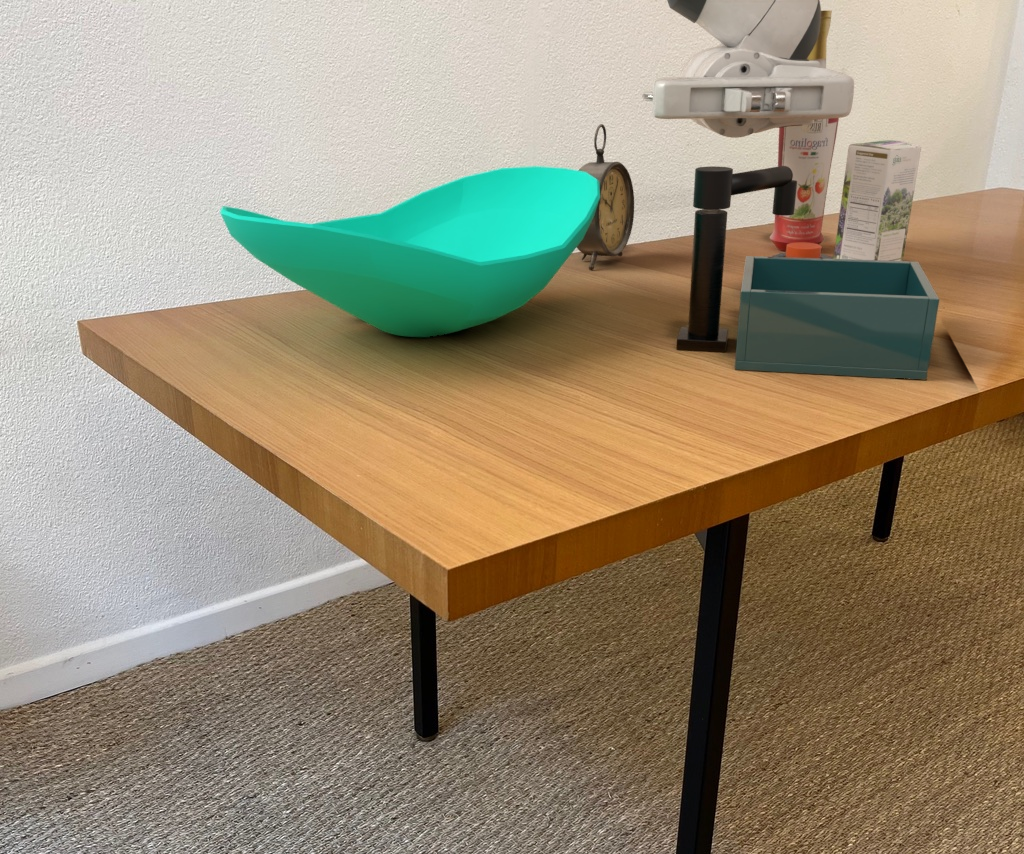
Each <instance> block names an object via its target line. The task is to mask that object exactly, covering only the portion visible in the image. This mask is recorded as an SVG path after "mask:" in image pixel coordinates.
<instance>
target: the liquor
mask: <svg viewBox="0 0 1024 854" xmlns="http://www.w3.org/2000/svg"><path fill="white" fill-rule="evenodd" d="M832 13H833V10H821V22H820V31H819V36H818V39H817V42H816V44H815V46H814V48H813V50H812V51H811V53H810V55H809V56H808V58H807V59H806V60H814V61H818V62H820V68H825V69H827V38H828V36H829V31H830V28H831V23H832ZM839 121H840V118H830V119H817V120H814V122H813V123H812V124H809V125H802V126H788V127H781V128H778V147H777V148H778V149H777V153H778V154H777V155H778V156H777V167H779V166H787V167H789V168H790V169H791V170H792V172H793V179H792V180H795V181H797V189H796V199H795V209H794V214H793V215H788V216H782V215H774V222H773V223H774V224H773V231H772V233H771V234H770V236H769V239H770V240H771V242H772V243H773V244H774V246H775V247H776V248H777V249H778V250H779V251H783V252H786V247H787V244H789V243H796V242H807V243H815V244H819V245H821V243H823V242H824V241H825V238H824V236H823V233H822V229H823V222H824V215H825V207H826V200H827V194H828V187H829V181H830V173H831V168H832V162H833V156H834V151H835V146H836V140H837V135H838V127H839Z"/></svg>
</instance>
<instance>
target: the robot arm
mask: <svg viewBox="0 0 1024 854" xmlns="http://www.w3.org/2000/svg"><path fill="white" fill-rule="evenodd" d="M666 1H667V4H668V7H669V8H670V9H671V10H673V11H674V12H676V13H677V14H679V15H680V16H682V17H683V18H685V19H687V20H688V21H690V22H691V23H692V24H696V25H698V26H699V27H701V28H702V29H703V30H704V31H706V32H707V33H708V34H709V35H711V36H712V37H713V38H714V39H716V40H717V41H718V42H719V43H720V44H718V45H716V46H714V47H709V48H708V47H707V48H705V49H702V50H700V51H698V52H695V53H694V54H693V55H692V56H691V57H690V58H689V59H687V61H686V62H685V63H684V64H683V65H682V67H681V70H680V72H679V74H678V76H672V77H671V76H670V77H659V78H656V79H654V81H653V85H652V90H647V91H643V94H642V95H641V97H642V99H643V101H645V102H651V105H652V106H651V115H652V116H653V117H654V118H655V119H660V120H691V121H692V122H694V123H696V125H699V126H700V127H703V128H705V129H707V130H710V131H711V132H713V133H716V134H717V135H720V136H722V137H727V138H734V139H736V138H745V137H747V136H750V135H752V134H759V133H761V132H765V131H769V130H772V129H779V128H781V127H788V126H802V125H809V124H812V123H813V122H814V120H817V119H830V118H839V119H841V118H845V117H848V116H849V115H850V114H851V111H852V109H853V103H854V93H855V81H854V78H853V77H852V76H850V75H849V74H846V73H843V72H840V71H837V70H834V69H831V68H826V69H825V68H820V62H818V61H814V60H806V59H807V58H808V56H809V55H810V53H811V51H812V50H813V48H814V46H815V44H816V42H817V39H818V36H819V31H820V22H821V11H822V8H821V6H822V5H821V1H820V0H666Z"/></svg>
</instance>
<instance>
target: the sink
mask: <svg viewBox="0 0 1024 854" xmlns="http://www.w3.org/2000/svg"><path fill="white" fill-rule="evenodd" d="M939 304H940V298H939V296H938V295H937V292H936V291H935V289H934V287H933V285H932V284H931V282H930V280H929V278H928V277H927V274H926V272H925V271H924V269H923V268H922V266H921V264H920V262H919V261H909V260H908V261H907V260H903V261H883V260H853V259H822V258H792V257H772V256H761V255H760V256H759V255H757V256H756V255H746V256H745V259H744V267H743V274H742V281H741V288H740V299H739V310H738V323H737V335H736V346H735V347H736V348H735V358H734V359H735V361H734V370H736V371H754V372H769V373H770V372H771V373H788V374H789V373H791V374H807V375H824V376H840V377H841V376H843V377H861V378H862V377H863V378H878V379H895V378H904V379H903V380H906V379H905V378H910V379H909V380H913V379H926V380H927V379H928V373H929V367H930V366H929V365H930V360H931V354H932V348H933V342H934V337H935V329H936V324H937V319H938V318H937V317H938V312H939V306H940V305H939Z"/></svg>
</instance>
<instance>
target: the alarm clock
mask: <svg viewBox="0 0 1024 854" xmlns="http://www.w3.org/2000/svg"><path fill="white" fill-rule="evenodd" d="M600 128H602V133H603V143H602V147H601V148H598V144H597V141H598V134H599V131H600ZM593 138H594V139H593V144H594V150H595V154H596V161H593V162H587V163H586V164H584V165H582V166H581V167H580V168H579V169H578V170H577V171H583V172H586V173H588V174H590V175H591V176H593V177H594V178H596V179H597V180H598V181H599V186H600V199H599V202H598V205H597V208H596V212H595V215H594V217H593V219H592V221H591V224H590V226H589V228H588V230H587V232H586V234H585V236H584V238H583V240H582V241H581V242H580V244H579V245H578V246H577V247H576V249H577V250H578V251H579V252H581V253H582V254H583V255H582V258H581V261H583V260H585V258H587V256H590V265H589V266H588V269H589V271H594V270H595V264H596V262H597V258H598V257H616V256H619V257H622V256H623V251H624V250H625V248H626V247H627V244H628V242H629V239H630V237H631V234H632V230H633V226H634V218H635V194H634V193H635V192H634V187H633V181H632V178H631V175H630V173H629V171H628V168H627V167H626V166H625V165H624V164H623V163H622V162H620V161H605V158H604V153H605V148H606V144H607V130H606V127H605V125H604V124H603V123H600V124H599V125H597V128H596V129H595V133H594V137H593Z"/></svg>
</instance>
